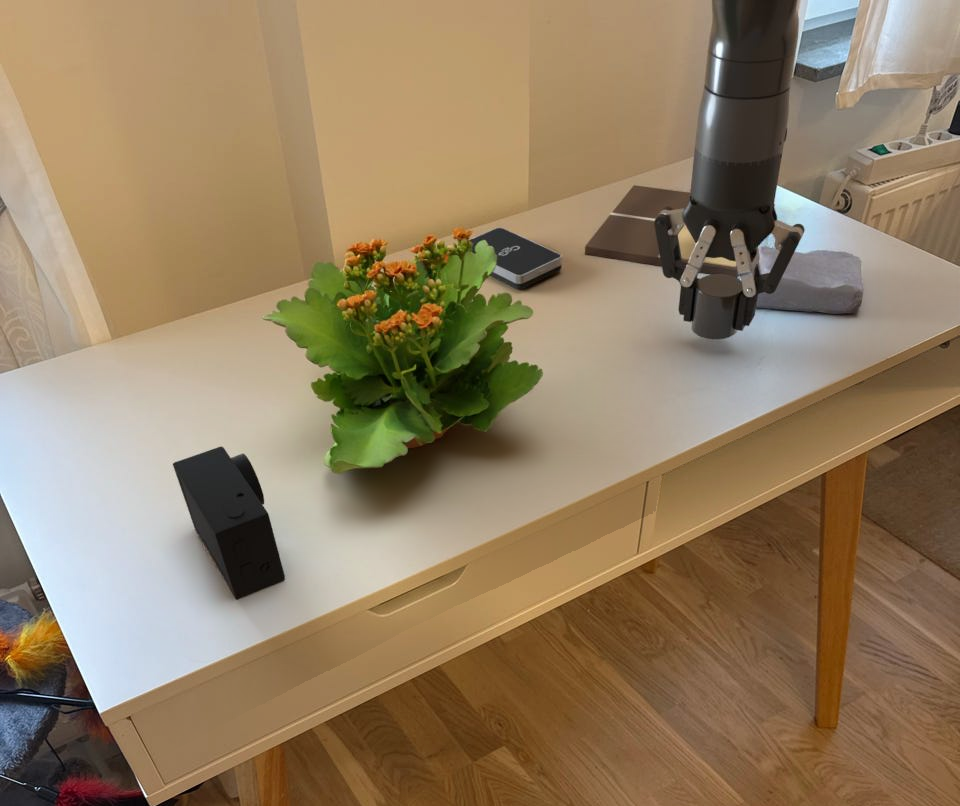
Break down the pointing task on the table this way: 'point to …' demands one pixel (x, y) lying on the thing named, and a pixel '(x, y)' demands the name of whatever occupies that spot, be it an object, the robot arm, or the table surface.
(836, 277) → the block
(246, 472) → the digital camera
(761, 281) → the robot arm
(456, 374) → the potted flower
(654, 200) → the board
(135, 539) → the table surface
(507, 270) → the external hard drive
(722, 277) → the dark grey cylinder
